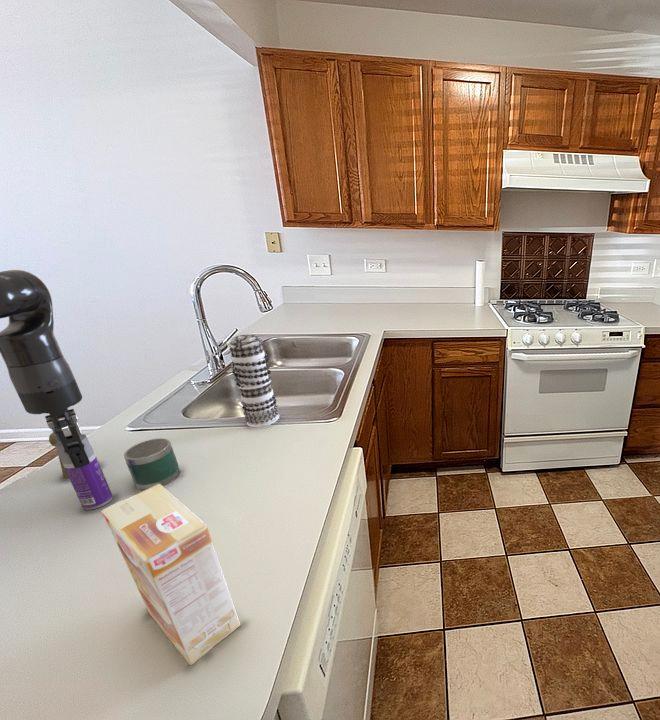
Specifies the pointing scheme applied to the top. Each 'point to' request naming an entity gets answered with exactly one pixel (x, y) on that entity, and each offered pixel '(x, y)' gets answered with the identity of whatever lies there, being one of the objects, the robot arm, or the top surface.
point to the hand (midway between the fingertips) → (80, 459)
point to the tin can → (152, 463)
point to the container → (86, 477)
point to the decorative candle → (253, 380)
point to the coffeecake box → (174, 569)
